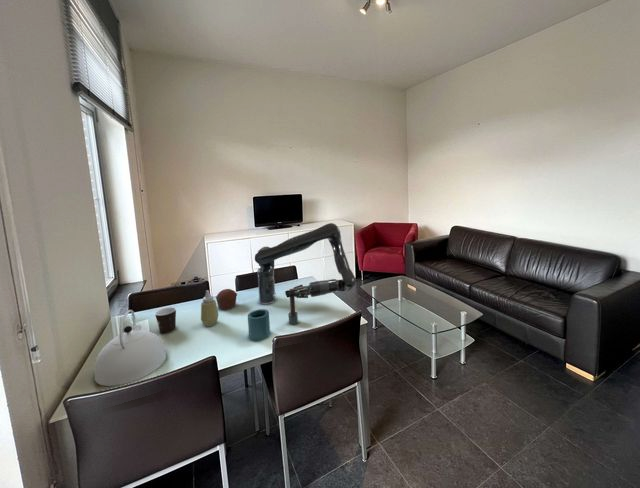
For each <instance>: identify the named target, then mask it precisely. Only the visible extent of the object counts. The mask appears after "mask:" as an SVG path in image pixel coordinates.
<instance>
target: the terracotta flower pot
mask: <svg viewBox="0 0 640 488" xmlns="http://www.w3.org/2000/svg"><path fill="white" fill-rule="evenodd" d="M237 296H238V292H236V291H235V290H233V289H231V288H225V289H221V290H220V291H219V292H218V293H217V294H216V296H215V299H216V300H215V301H216V305H217V308H218V310H221V311H228V310H232V309H234V308H235V307H236V304H237Z"/></svg>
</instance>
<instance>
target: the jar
mask: <svg viewBox="0 0 640 488" xmlns="http://www.w3.org/2000/svg"><path fill="white" fill-rule="evenodd" d="M247 326H248V327H247V329H248V339H249V340H250V341H252V342H259V341H264V340H266V339H268V338H269V337H270V336H271V323H270V312H269V310H268V309H263V308H260V309H254V310H251V311H250V312H248V314H247Z"/></svg>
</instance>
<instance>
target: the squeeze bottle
mask: <svg viewBox="0 0 640 488" xmlns="http://www.w3.org/2000/svg"><path fill="white" fill-rule="evenodd" d="M218 318H219V309H218V305H217V300H215V299H214V296H213V295H211V293H210V290H208V289H207V290H205V295H204V296H203V298H202V302H201V304H200V320H201V323H202V325H203V326H204V327H211V326H215V325H217V322H218Z"/></svg>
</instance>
